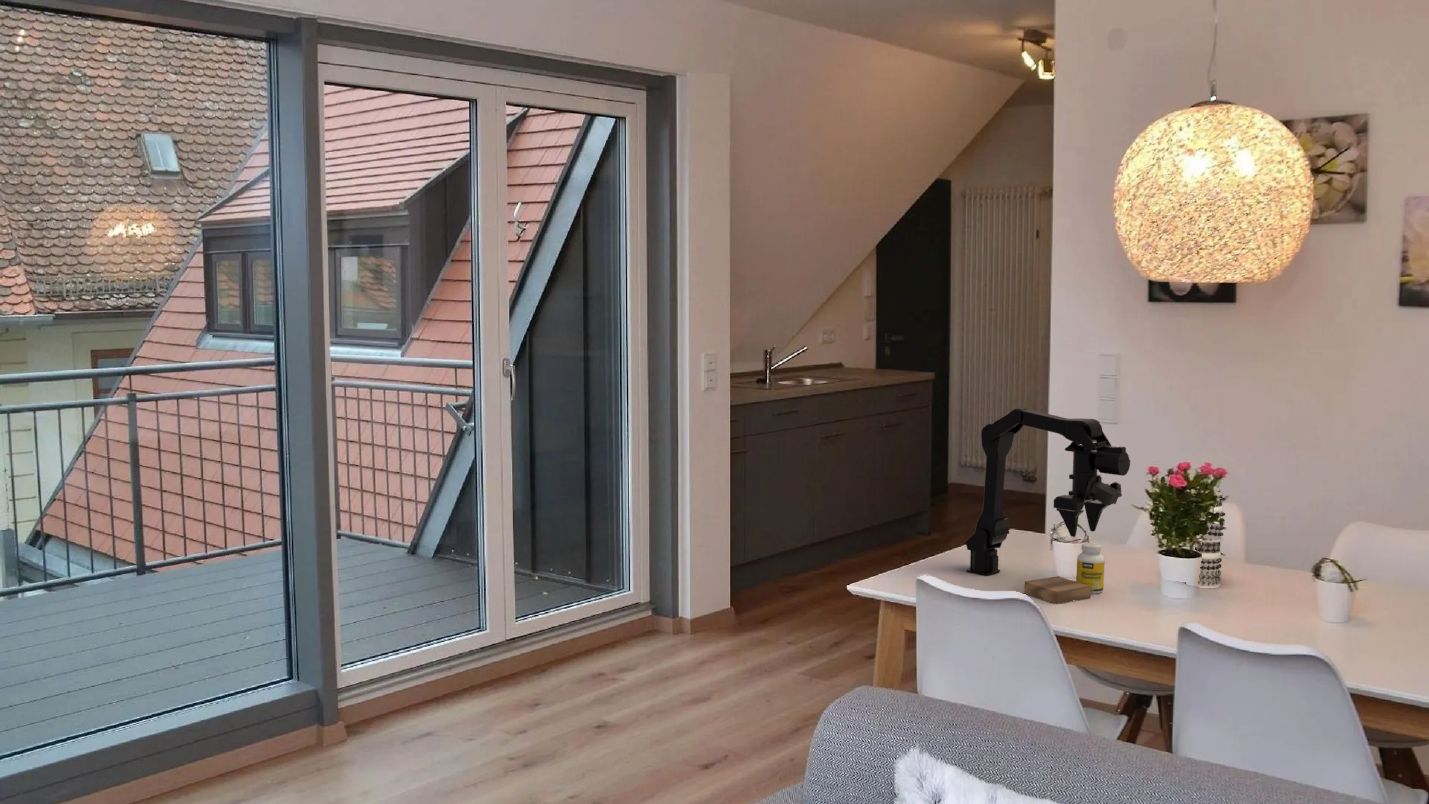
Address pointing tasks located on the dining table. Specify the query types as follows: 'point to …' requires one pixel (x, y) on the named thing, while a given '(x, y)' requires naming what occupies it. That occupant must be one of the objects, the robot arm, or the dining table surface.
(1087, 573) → the pill bottle
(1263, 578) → the dining table surface
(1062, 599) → the walnut plinth
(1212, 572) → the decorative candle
